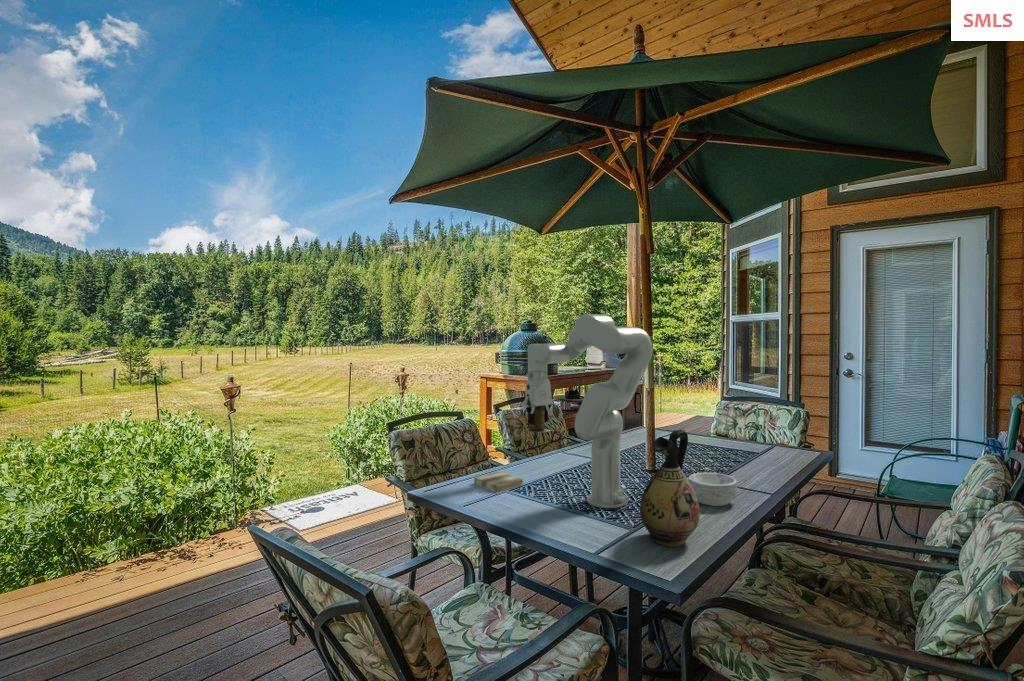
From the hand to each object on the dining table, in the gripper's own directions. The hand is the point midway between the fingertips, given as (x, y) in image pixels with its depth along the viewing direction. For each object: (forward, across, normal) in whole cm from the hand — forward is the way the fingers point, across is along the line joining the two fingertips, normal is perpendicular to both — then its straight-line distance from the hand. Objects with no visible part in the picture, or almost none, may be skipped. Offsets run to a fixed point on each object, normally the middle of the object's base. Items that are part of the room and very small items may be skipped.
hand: (538, 422), depth 191 cm
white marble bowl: (+23, +28, -55) cm, 66 cm away
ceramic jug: (+23, -9, -64) cm, 68 cm away
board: (+22, -15, +6) cm, 28 cm away
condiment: (+3, 0, 0) cm, 3 cm away
